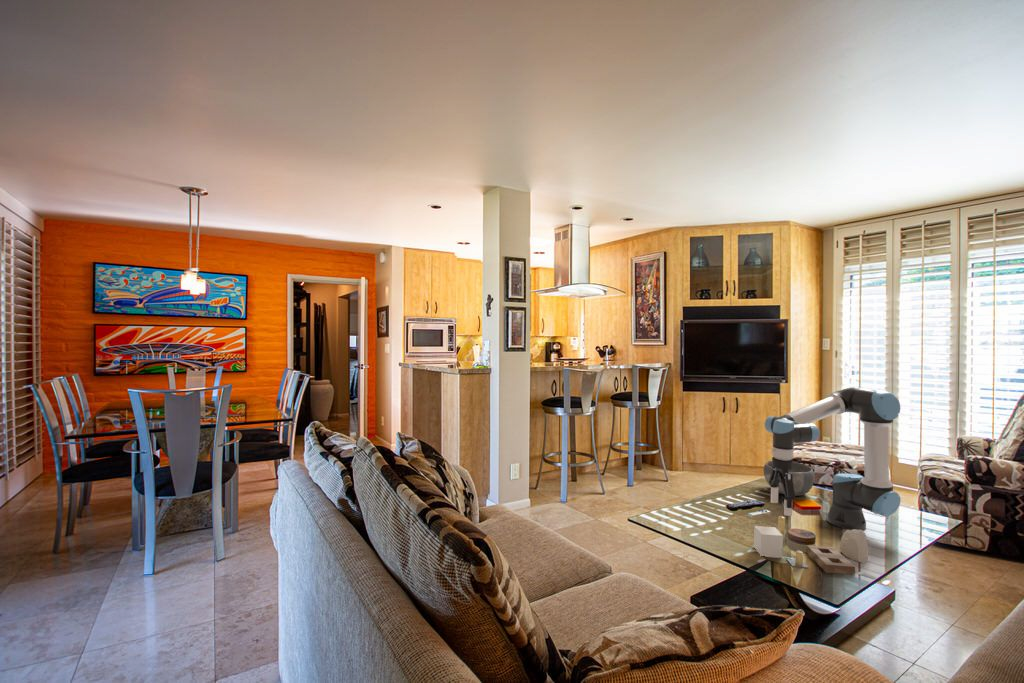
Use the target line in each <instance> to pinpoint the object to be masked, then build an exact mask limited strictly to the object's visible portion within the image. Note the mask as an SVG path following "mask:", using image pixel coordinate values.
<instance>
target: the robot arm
mask: <svg viewBox="0 0 1024 683" xmlns="http://www.w3.org/2000/svg"><path fill="white" fill-rule="evenodd" d="M843 413H855V414H858V415H859V420H860V422H861V423H862V424H863V426H864V427H863V431H864V432H863V434H864V435H863V437H864V440H863V441H864V442H863V444H864V445H863V448H864V451H863V452H864V456H863V458H864V468H863V469H864V471H863V472H864V475H860V474H855V473H836V474H835V475H834V476H833V481H832V504H831V506H830V509H829V510H828V512H827V516H826V521H827V522H828V524H831V525H833V526H835V527H838V528H840V529H841V528H842V529H846V530H850V531H851V530H853V529H856V530H863V531H864V530H865V529H866V528H867V520H866V518H865V515H864V513H863V512H864V511H863V509H864V510H865V511H869V512H871V513H873V514H874V515H879V516H882V517H890V516H892V515H893V514H895V513H896V512H897V511H898V509H899V508H900V506H901V502H902V501H901V500H902V499H901V496H900V493H898V492H897V491H895V490H894V484H893V482H892V481H890V471H889V470H890V467H889V464H890V460H889V459H890V456H889V455H890V454H889V452H890V450H889V448H890V446H889V443H890V440H889V438H890V434H889V429H890V428H889V426H890V425H892V424H893V423H894V420H896V419H897V418H898V417H899V414H901V403H900V401H899V399H898V397H897V396H896V395H895V394H893V393H892V392H891V391H890V392H889V391H887V390H886V391H885V390H882V389H881V390H880V389H873V388H866V387H860V386H856V387H855V386H851V387H848V388H843V389H840V390H837V391H835V392H832V393H829V394H827V395H826V397H825V398H822V399H821V400H818V401H815V402H813V403H811V404H808V405H805V406H803V407H801V408H798V409H796V410H793V411H790V412H788V413H786V414H784V415H781V416H776V415H774V416H773V415H771V416H768V417H767V418H766V419H765V422H764V428H765V430H766V431H767V432H768V433H771V434H772V449H771V452H772V454H771V455H772V457H771V458H772V459H771V461H772V472H771V475H770V479H769V484H770V485H769V484H768V485H769V487H770V486H771V487H770V503H771V504H778V503H779V493H778V487H779V485H778V484H779V483H782V486H783V490H784V494H783V495H784V498H783V500H784V501H783V502H784V504H783V505H784V506H783V507H784V508H783V515H784V516H785V517H786V516H789V517H791V516H793V501H796V496H795V492H794V486H793V475H792V474H789V472H788V470H789V469H792V468H793V462H794V451H795V450H794V447H795V446H794V445H795V444H796V443H797V444H800V443H811V442H816V441H818V440H819V439H820V436H821V430H820V429H819V427H818V426H817V425H816V424H814V423H815V422H818V421H820V420H823V419H825V418H828V417H831V416H833V415H835V414H837V415H841V414H842V415H843Z"/></svg>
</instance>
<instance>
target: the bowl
mask: <svg viewBox="0 0 1024 683" xmlns="http://www.w3.org/2000/svg"><path fill="white" fill-rule="evenodd" d="M771 472H772V460H767V461H766V462H765V464H764V466H763V476H764V479H765V481H766V483H767V484H768V486H769V487H770V488H771V486H770V484H769V479H770V475H771ZM788 472H789V474H792V475H793V486H794V492H795V497H796V496H797V497H799V496H800V497H801V496H803V495H805V494H808V493H809V492H810V491H811V489H812V488H813V486H814V483H815V471H814V469H813V468H812V467H811V466H809V465H807V464H805V463H801V462H798V461H797V462H796V461H793V468H792V469H789V470H788ZM778 485H779V487H778V494H780V495H785V494H784V490H783V486H782V483H779V484H778Z"/></svg>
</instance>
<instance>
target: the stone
mask: <svg viewBox="0 0 1024 683" xmlns="http://www.w3.org/2000/svg"><path fill="white" fill-rule="evenodd" d="M838 545H839V546H838V547H839V550H840V553H842V555H843V556H844V557H847V558H849V559H851V560H853V559H854V560H853V561H855V560H856V561H855V562H859V563H861V562H865V563H867V562H868V561H869V552H870V551H869V550H870V548H869V543H868V538H867V535H866V533H865V531H864V530H856V529H853V530H850V529H846V530H845V531H844V533H843V534H842V536H841V539H840V541H839V544H838ZM867 560H868V561H867ZM866 561H867V562H866Z"/></svg>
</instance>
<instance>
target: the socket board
mask: <svg viewBox="0 0 1024 683" xmlns="http://www.w3.org/2000/svg"><path fill="white" fill-rule="evenodd" d="M806 554H807V555H809V557H810V558H811V559H812V560H813V561H814V562H815V563H816V564H817V565H818V567H820V568H821V569H822V570H823V571H824V572H825V573H828V574H842V575H843V574H844V575H851V574H855V575H856V565H854V564H853V563H852V562H850V561H849V559H848V558H846V556H845V555H844V554H843V553H842V554H841V552H840V551H838V550H837V549H836V548H835V547H833V546H819V545H806Z"/></svg>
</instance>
